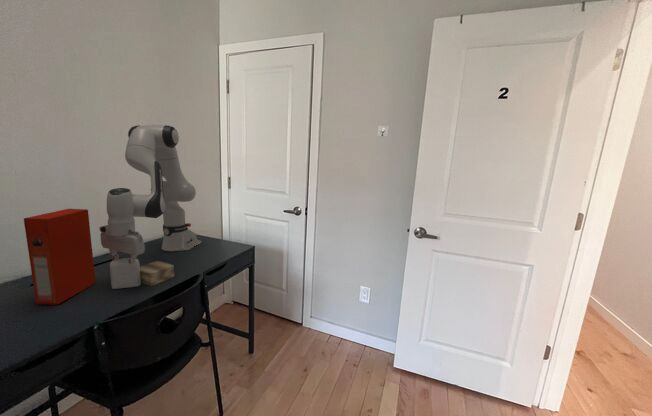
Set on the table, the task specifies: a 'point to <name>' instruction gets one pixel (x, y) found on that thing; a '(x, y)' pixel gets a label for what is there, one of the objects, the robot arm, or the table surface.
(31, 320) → the table surface
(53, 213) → the file binder
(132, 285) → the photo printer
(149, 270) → the oak box
